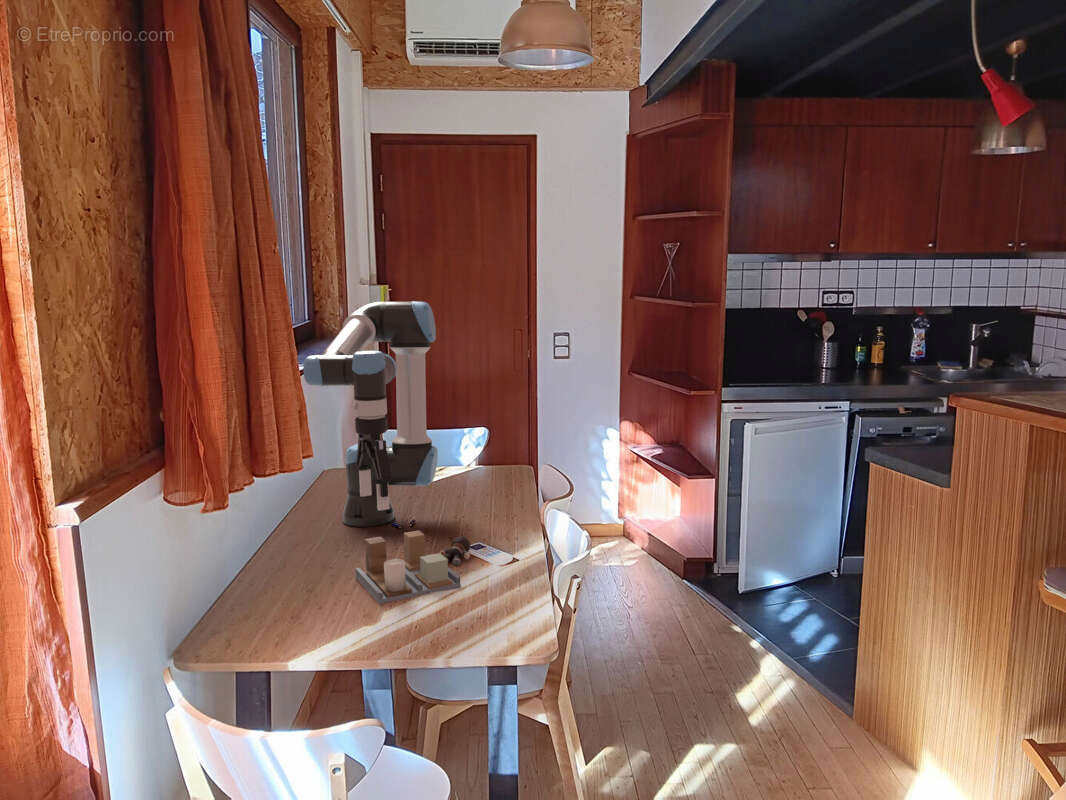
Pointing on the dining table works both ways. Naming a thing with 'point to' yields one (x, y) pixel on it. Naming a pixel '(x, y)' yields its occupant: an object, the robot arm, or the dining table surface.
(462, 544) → the figurine
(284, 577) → the dining table surface
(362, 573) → the lane board
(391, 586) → the cream rounded capsule
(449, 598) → the dining table surface
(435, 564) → the sage block
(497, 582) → the dining table surface
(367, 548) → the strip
